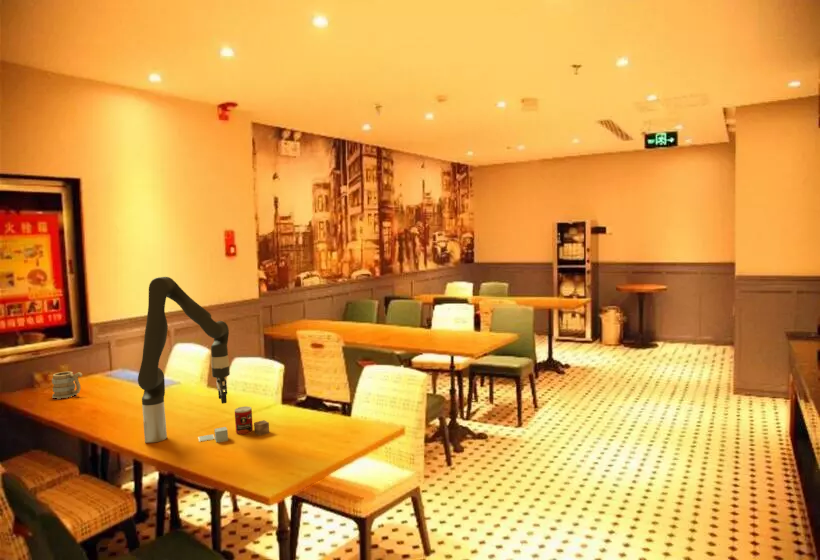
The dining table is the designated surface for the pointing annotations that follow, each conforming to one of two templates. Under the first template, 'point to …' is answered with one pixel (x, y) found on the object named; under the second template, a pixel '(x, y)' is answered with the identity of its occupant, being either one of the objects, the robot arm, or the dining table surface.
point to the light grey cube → (221, 434)
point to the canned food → (243, 420)
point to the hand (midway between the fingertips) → (222, 400)
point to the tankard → (65, 384)
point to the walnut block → (261, 427)
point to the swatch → (206, 438)
